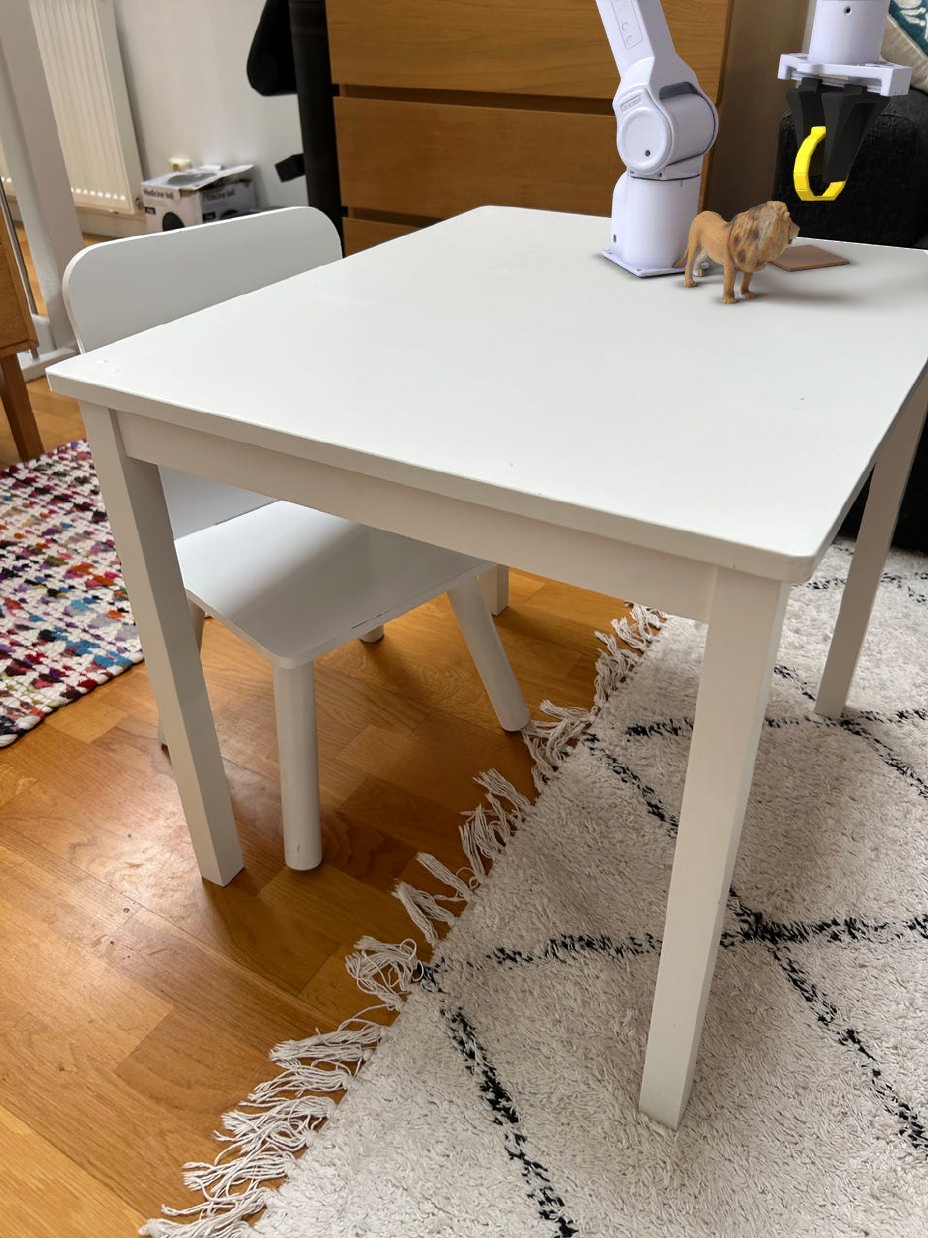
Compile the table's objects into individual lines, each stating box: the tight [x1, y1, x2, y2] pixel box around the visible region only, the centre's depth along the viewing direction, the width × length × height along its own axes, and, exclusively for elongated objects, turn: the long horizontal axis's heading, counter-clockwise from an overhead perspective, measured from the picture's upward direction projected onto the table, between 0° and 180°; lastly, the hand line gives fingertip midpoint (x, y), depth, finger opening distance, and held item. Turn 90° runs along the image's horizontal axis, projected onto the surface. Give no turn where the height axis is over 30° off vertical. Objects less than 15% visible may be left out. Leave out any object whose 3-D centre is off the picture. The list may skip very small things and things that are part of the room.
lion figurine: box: [672, 200, 801, 305], centre depth 90 cm, size 15×5×9 cm, turn 32°
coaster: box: [769, 244, 850, 272], centre depth 100 cm, size 7×7×1 cm
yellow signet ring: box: [793, 127, 848, 202], centre depth 85 cm, size 6×3×6 cm, turn 122°
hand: (822, 178), depth 86 cm, fingers closed on yellow signet ring, 3 cm apart
